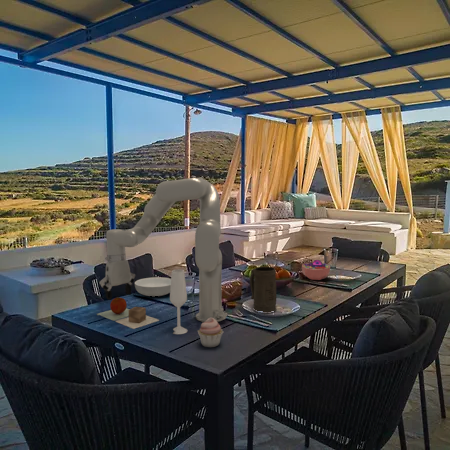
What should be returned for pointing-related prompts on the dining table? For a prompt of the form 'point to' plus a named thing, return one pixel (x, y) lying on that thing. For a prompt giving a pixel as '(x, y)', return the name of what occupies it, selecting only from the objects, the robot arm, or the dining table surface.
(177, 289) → the champagne flute
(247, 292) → the dining table surface
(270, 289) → the beer stein
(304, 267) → the cell model
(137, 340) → the dining table surface
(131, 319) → the walnut block
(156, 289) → the serving bowl
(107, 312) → the pale sage mat
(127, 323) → the cream mat
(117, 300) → the fruit
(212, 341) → the cupcake
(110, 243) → the robot arm
